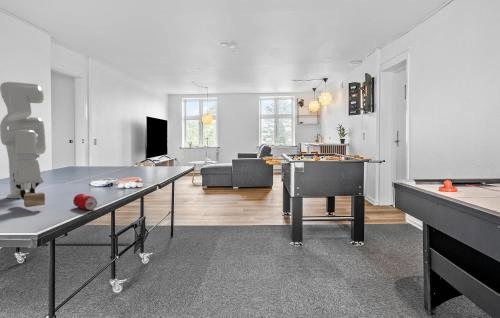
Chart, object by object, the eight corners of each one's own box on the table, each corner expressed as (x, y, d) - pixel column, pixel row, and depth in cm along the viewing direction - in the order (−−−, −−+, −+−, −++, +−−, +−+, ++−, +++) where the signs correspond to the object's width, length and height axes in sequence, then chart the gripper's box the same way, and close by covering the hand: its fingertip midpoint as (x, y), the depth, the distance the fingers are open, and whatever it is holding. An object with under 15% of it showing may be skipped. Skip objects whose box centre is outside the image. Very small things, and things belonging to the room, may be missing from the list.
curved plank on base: (12, 197, 155) (12, 186, 154) (30, 195, 160) (29, 185, 159) (26, 207, 142) (26, 195, 141) (44, 204, 147) (44, 193, 146)
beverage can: (87, 204, 158) (99, 208, 150) (74, 208, 153) (86, 213, 145) (84, 191, 156) (96, 195, 149) (71, 195, 152) (82, 199, 144)
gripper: (43, 156, 159) (44, 194, 160) (2, 158, 146) (4, 199, 148) (49, 157, 154) (50, 196, 155) (6, 158, 141) (8, 201, 143)
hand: (27, 197), depth 151 cm, fingers closed on curved plank on base, 2 cm apart
